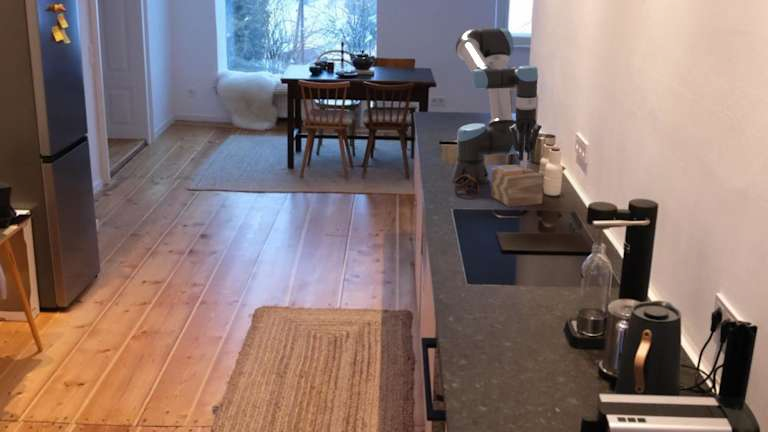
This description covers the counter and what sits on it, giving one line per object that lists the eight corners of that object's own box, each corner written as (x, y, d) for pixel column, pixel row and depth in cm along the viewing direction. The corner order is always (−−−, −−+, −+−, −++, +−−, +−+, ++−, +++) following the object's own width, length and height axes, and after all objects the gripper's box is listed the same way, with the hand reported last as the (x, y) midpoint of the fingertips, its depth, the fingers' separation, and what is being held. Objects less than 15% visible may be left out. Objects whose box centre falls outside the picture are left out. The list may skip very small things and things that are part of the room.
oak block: (491, 195, 338) (491, 168, 334) (523, 192, 342) (524, 165, 338) (508, 206, 323) (509, 178, 320) (542, 203, 327) (543, 175, 324)
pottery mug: (482, 196, 338) (473, 180, 334) (460, 206, 341) (451, 190, 337) (480, 181, 348) (472, 165, 344) (459, 190, 351) (450, 174, 347)
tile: (497, 171, 330) (498, 166, 330) (514, 169, 332) (514, 164, 332) (505, 175, 324) (505, 170, 323) (522, 174, 326) (522, 168, 325)
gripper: (514, 110, 317) (512, 172, 324) (546, 108, 321) (543, 169, 328) (505, 107, 324) (503, 167, 331) (536, 104, 327) (533, 164, 335)
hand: (523, 168), depth 330 cm, fingers closed
